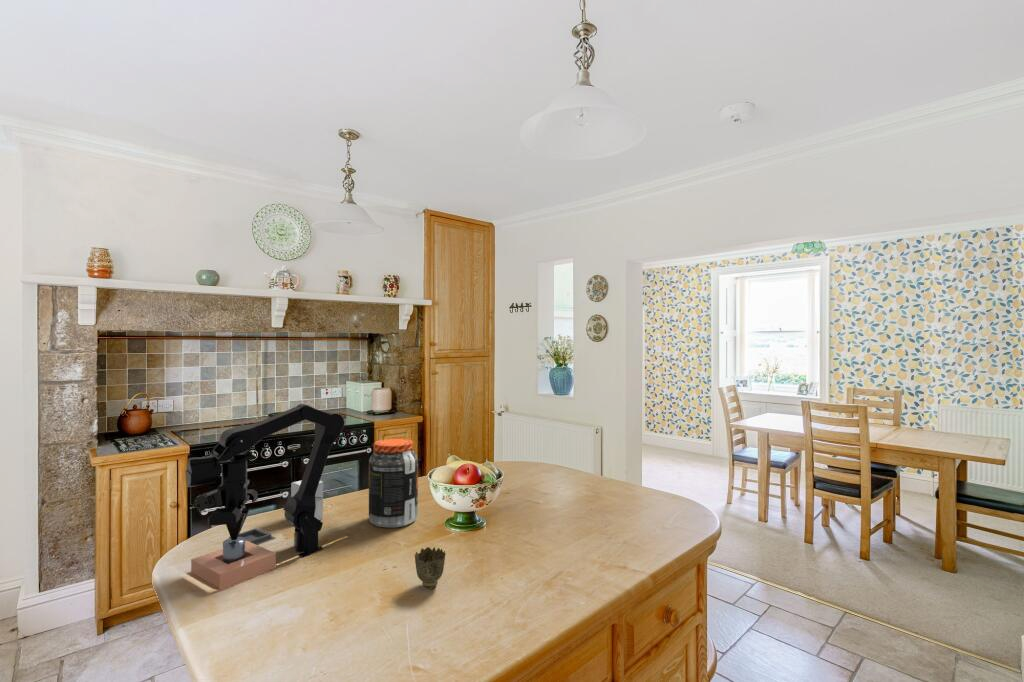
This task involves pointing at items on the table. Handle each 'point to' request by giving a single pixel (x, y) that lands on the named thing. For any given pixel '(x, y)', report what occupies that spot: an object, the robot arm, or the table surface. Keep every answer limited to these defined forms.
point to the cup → (430, 566)
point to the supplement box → (318, 497)
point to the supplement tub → (393, 483)
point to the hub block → (233, 566)
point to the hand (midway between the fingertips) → (234, 539)
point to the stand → (256, 536)
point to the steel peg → (233, 550)
